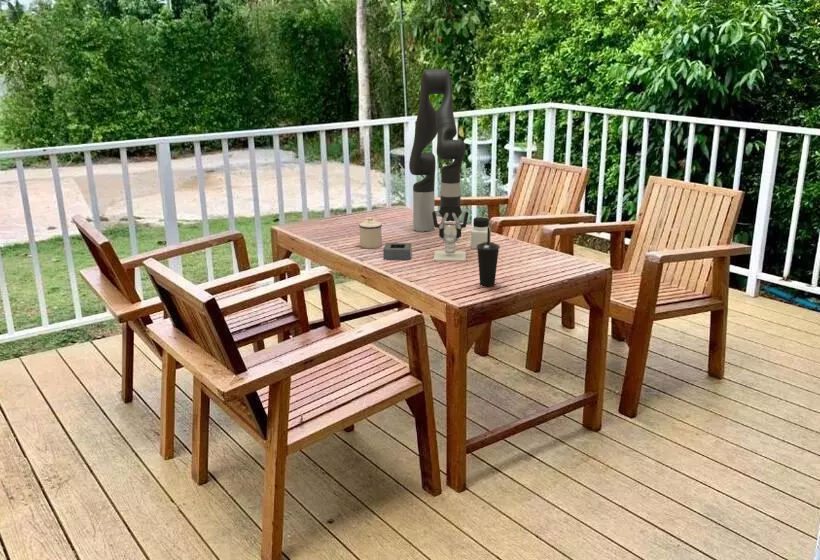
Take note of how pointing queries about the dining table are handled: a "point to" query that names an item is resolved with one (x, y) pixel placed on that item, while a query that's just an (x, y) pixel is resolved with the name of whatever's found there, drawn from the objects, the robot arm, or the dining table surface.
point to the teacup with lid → (370, 234)
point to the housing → (397, 251)
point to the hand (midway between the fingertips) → (450, 237)
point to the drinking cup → (487, 261)
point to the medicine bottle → (479, 231)
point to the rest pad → (450, 256)
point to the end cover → (450, 236)
